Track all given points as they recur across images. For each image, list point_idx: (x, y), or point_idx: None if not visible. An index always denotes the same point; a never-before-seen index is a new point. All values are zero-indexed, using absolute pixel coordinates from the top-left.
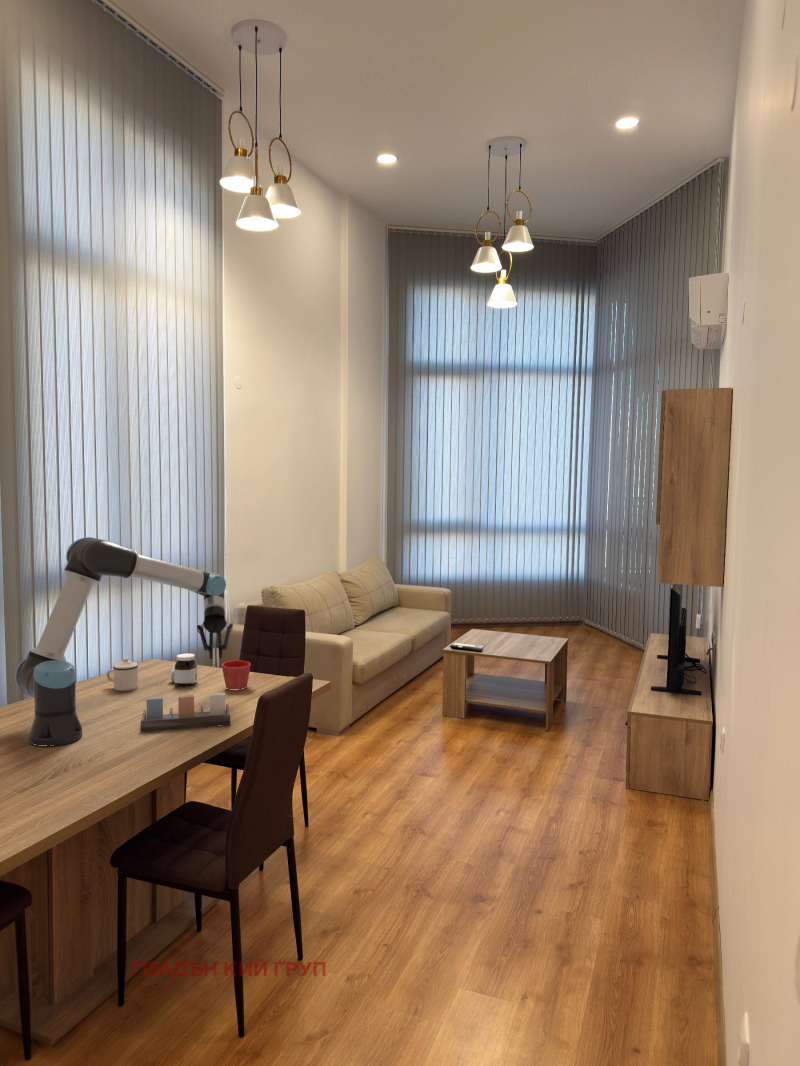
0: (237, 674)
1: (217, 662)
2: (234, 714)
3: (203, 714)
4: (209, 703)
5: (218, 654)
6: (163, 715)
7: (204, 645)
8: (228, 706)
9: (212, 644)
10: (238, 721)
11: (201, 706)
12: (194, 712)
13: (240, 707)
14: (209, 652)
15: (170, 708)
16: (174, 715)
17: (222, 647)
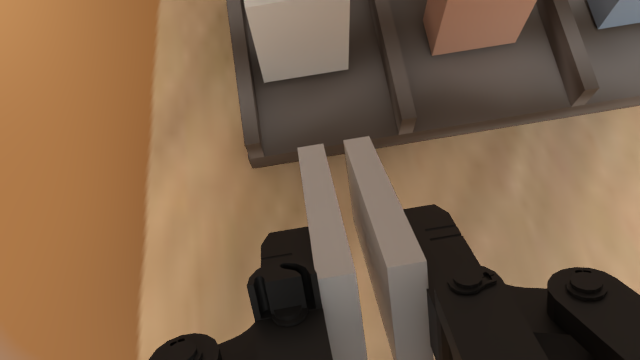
0: None
1: (317, 153)
2: (219, 166)
3: (386, 89)
4: (348, 28)
5: (311, 208)
6: (614, 82)
7: (612, 283)
8: (240, 104)
9: (453, 321)
10: (192, 54)
11: (410, 113)
12: (447, 125)
13: (188, 301)
14: (463, 240)
15: (595, 83)
16: (549, 78)
17: (248, 336)
